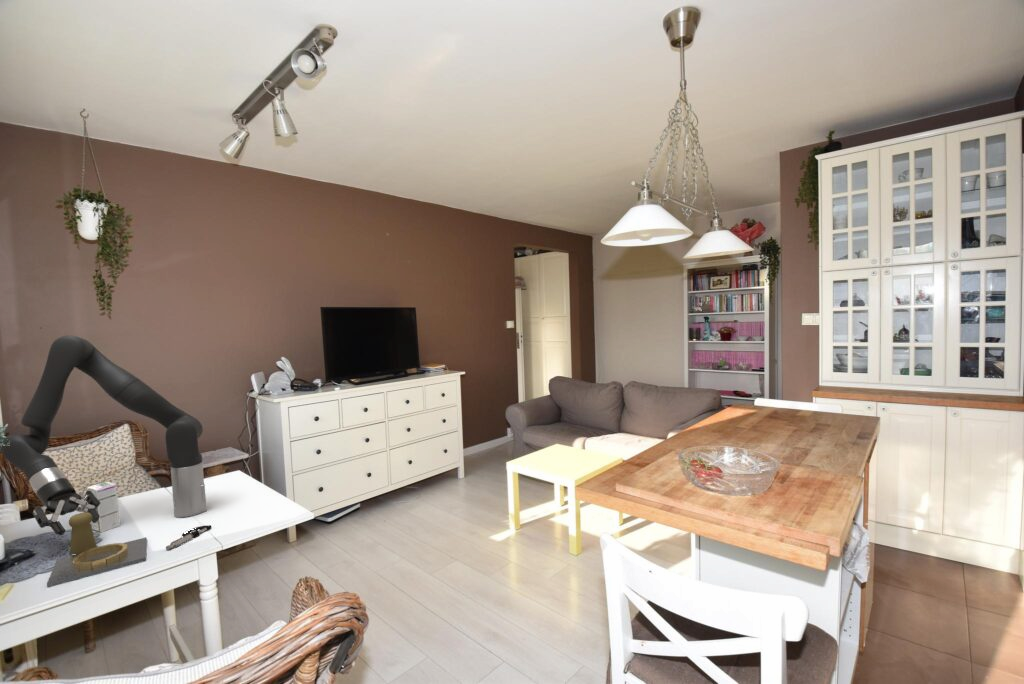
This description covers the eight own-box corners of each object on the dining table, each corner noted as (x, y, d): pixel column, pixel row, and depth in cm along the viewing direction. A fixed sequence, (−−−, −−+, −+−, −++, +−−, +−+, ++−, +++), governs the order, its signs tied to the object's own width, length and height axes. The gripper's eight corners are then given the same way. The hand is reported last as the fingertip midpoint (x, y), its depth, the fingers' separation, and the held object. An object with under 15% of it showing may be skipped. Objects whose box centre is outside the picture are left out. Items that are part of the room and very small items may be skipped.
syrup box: (120, 525, 158) (117, 482, 157) (99, 533, 152) (95, 489, 151) (111, 522, 160) (107, 480, 159) (90, 530, 155) (86, 486, 154)
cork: (80, 546, 144) (77, 510, 143) (102, 544, 144) (99, 509, 143) (63, 556, 138) (60, 519, 137) (86, 554, 138) (82, 517, 137)
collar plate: (146, 540, 146) (146, 532, 146) (145, 560, 133) (145, 552, 133) (57, 562, 134) (56, 553, 134) (47, 587, 121) (46, 577, 121)
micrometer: (196, 527, 155) (196, 520, 155) (214, 529, 153) (213, 521, 153) (151, 550, 140) (150, 541, 140) (170, 552, 139) (169, 543, 138)
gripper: (26, 486, 136) (55, 530, 133) (84, 470, 149) (112, 509, 146) (16, 502, 138) (45, 546, 135) (74, 485, 151) (102, 524, 148)
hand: (80, 527), depth 141 cm, fingers open, 8 cm apart
